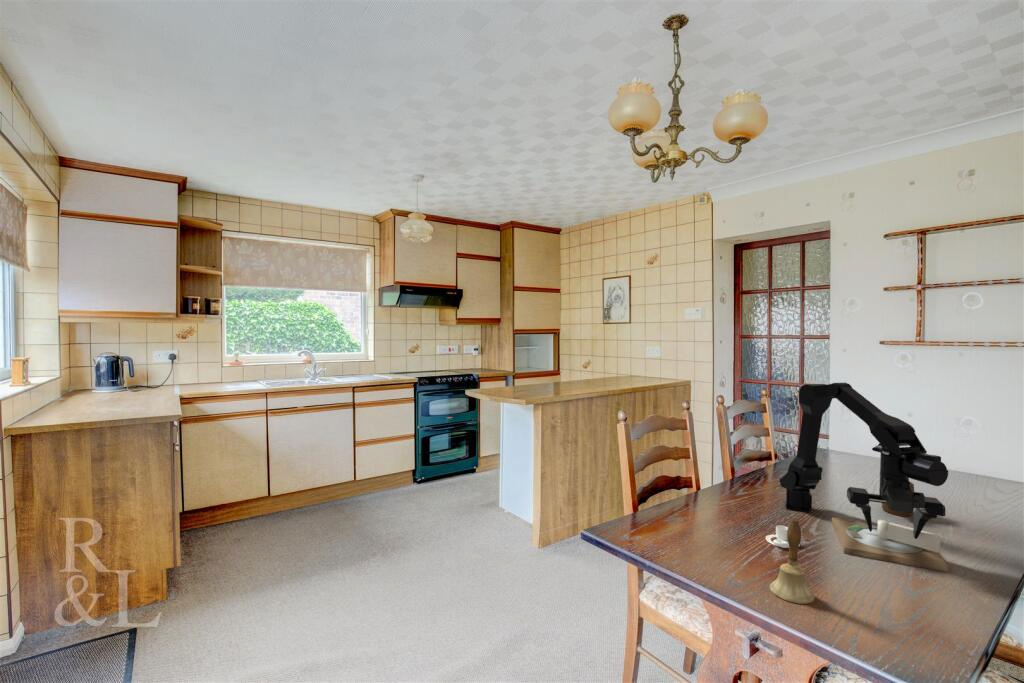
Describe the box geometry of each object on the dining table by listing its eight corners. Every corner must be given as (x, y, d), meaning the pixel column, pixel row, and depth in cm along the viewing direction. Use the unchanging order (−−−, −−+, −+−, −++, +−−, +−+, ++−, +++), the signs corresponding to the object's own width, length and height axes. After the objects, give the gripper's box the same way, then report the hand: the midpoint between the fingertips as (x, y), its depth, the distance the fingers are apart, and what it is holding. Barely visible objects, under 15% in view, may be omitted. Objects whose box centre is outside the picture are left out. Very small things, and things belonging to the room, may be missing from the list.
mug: (901, 522, 139) (902, 490, 139) (871, 513, 146) (872, 482, 145) (917, 513, 146) (918, 483, 145) (887, 505, 152) (888, 476, 152)
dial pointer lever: (850, 529, 130) (850, 514, 130) (853, 527, 131) (853, 512, 131) (937, 554, 116) (938, 537, 116) (940, 551, 117) (940, 534, 117)
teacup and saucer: (785, 553, 121) (786, 537, 121) (756, 540, 128) (757, 525, 128) (806, 546, 125) (807, 530, 125) (777, 534, 132) (778, 519, 132)
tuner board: (843, 553, 120) (844, 545, 120) (831, 522, 139) (831, 515, 139) (947, 571, 111) (947, 563, 111) (919, 536, 130) (919, 529, 130)
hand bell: (798, 582, 107) (800, 511, 106) (823, 604, 98) (825, 527, 98) (761, 582, 106) (763, 512, 106) (784, 604, 98) (785, 528, 98)
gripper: (855, 476, 117) (853, 539, 118) (955, 488, 109) (952, 556, 109) (847, 464, 127) (845, 523, 127) (938, 475, 119) (936, 537, 119)
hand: (892, 534), depth 120 cm, fingers open, 9 cm apart
